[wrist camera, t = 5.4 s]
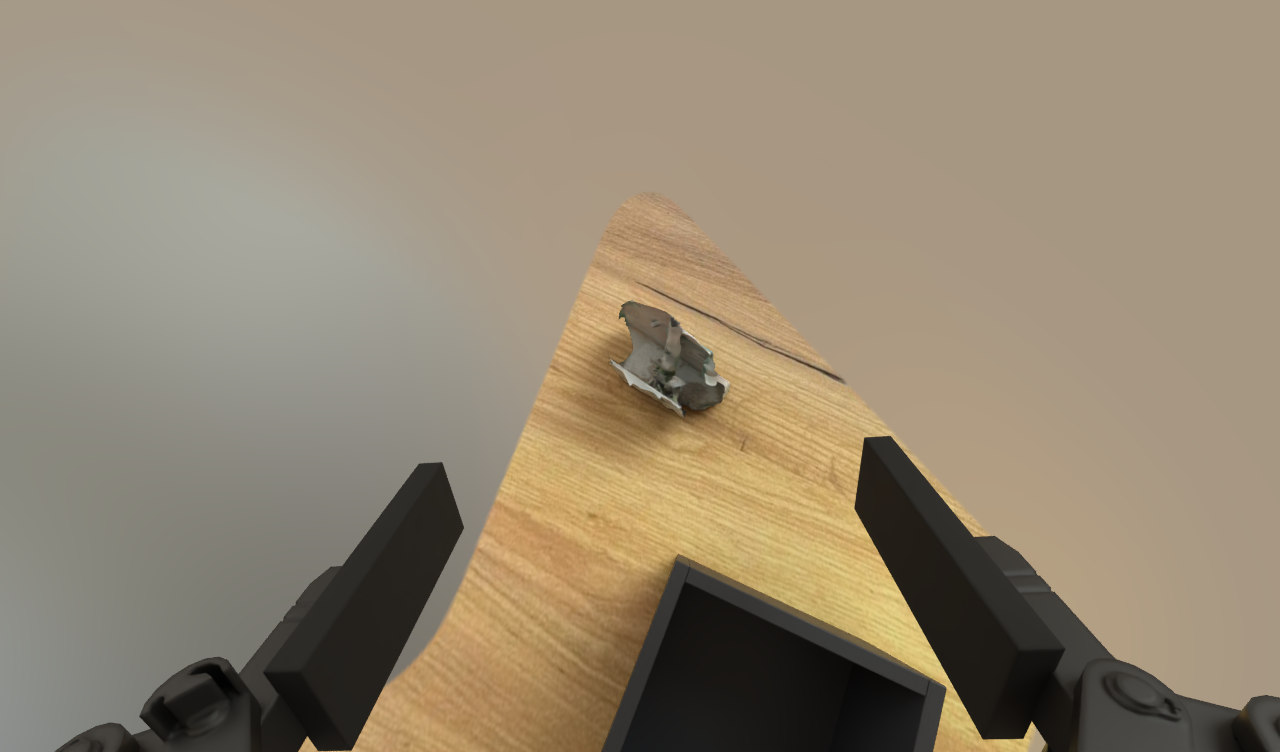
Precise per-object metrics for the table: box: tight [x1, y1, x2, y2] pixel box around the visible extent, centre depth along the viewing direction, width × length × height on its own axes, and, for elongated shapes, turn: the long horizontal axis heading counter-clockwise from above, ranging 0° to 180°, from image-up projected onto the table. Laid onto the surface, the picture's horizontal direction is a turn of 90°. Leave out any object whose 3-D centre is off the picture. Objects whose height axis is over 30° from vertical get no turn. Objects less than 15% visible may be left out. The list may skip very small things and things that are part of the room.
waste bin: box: [601, 554, 946, 752], centre depth 20 cm, size 10×10×8 cm
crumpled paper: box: [607, 300, 730, 418], centre depth 26 cm, size 4×8×7 cm, turn 53°
